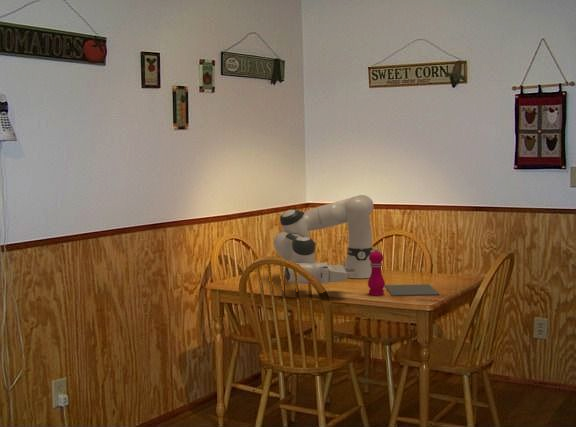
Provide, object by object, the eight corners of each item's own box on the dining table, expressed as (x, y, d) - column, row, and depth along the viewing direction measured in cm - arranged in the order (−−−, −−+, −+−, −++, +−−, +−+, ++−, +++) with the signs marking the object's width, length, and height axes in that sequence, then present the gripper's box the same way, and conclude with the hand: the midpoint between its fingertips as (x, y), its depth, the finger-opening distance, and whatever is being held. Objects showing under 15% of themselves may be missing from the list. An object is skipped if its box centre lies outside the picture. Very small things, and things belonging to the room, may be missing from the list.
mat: (384, 286, 354) (384, 285, 354) (429, 285, 354) (429, 284, 354) (392, 296, 332) (392, 294, 332) (439, 295, 332) (439, 293, 332)
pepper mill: (370, 296, 333) (370, 249, 331) (365, 293, 340) (365, 247, 338) (387, 295, 334) (387, 248, 332) (381, 292, 341) (381, 246, 339)
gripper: (321, 275, 346) (353, 275, 346) (325, 284, 325) (358, 284, 326) (321, 261, 345) (353, 261, 345) (324, 269, 325) (358, 268, 325)
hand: (355, 272), depth 335 cm, fingers open, 8 cm apart
